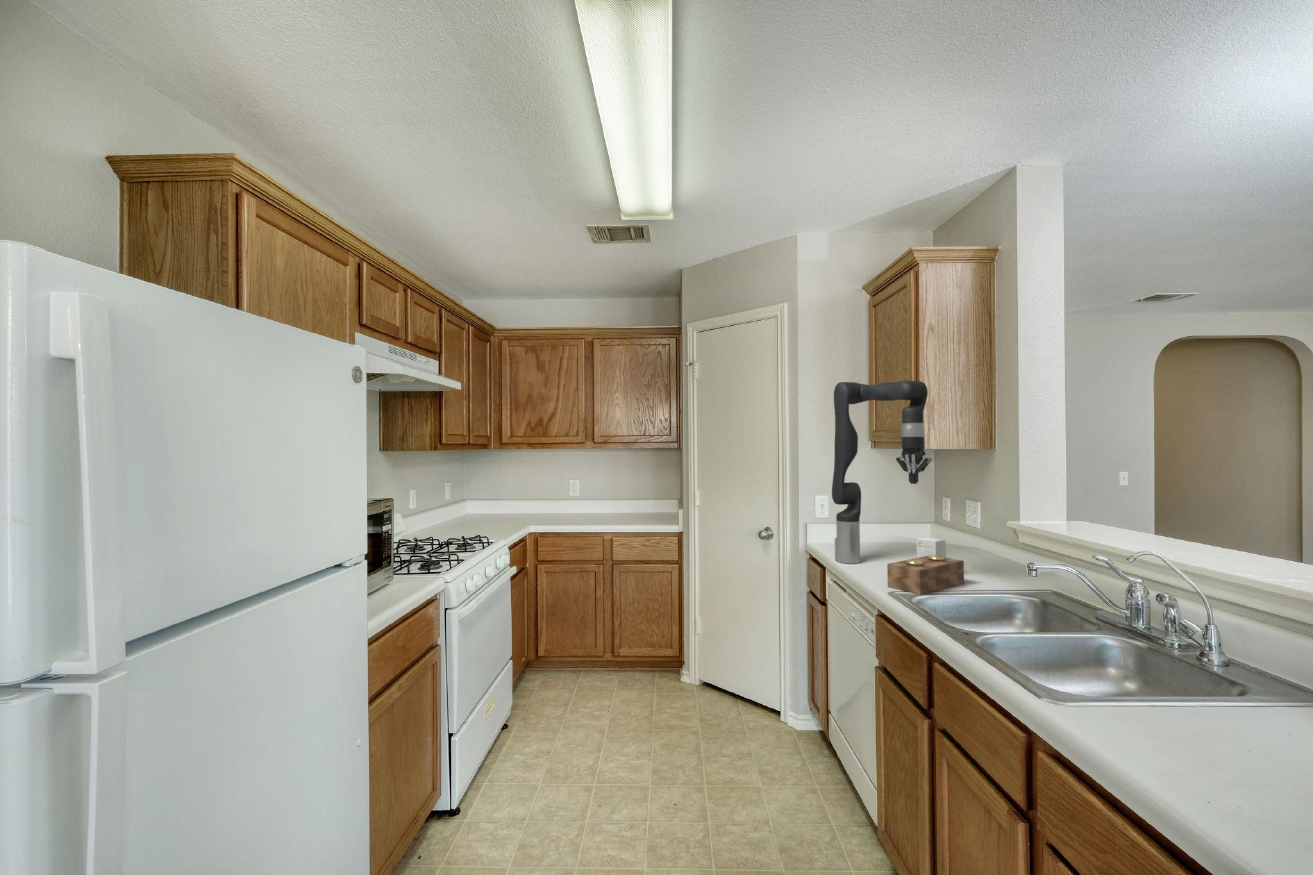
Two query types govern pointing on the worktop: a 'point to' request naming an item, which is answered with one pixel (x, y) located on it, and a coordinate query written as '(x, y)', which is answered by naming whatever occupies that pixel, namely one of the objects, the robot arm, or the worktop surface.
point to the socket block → (925, 575)
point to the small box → (930, 547)
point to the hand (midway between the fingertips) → (913, 483)
